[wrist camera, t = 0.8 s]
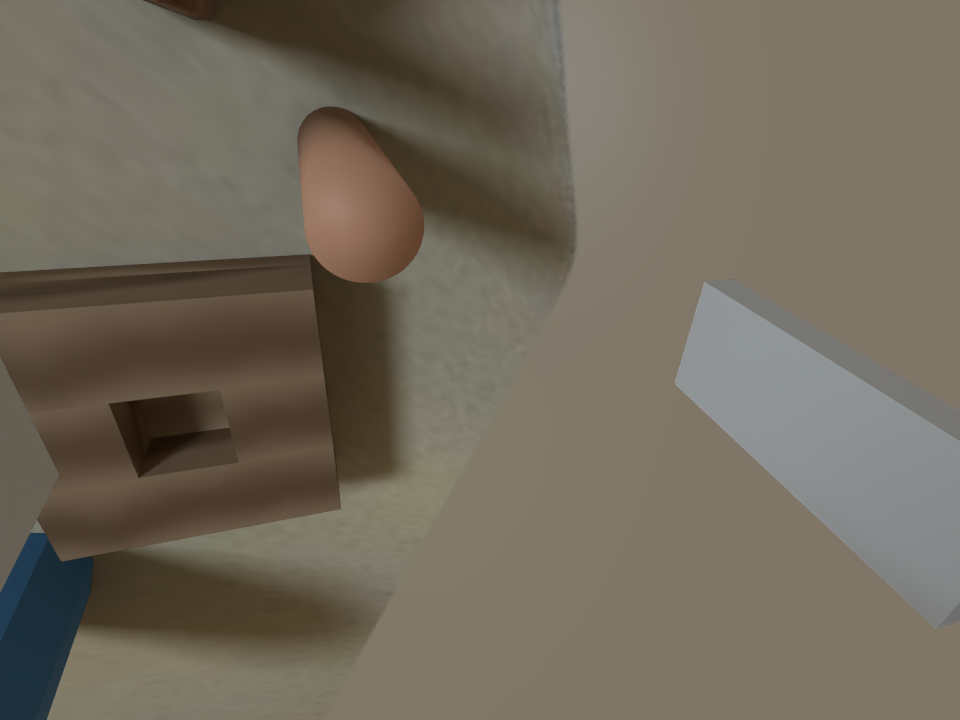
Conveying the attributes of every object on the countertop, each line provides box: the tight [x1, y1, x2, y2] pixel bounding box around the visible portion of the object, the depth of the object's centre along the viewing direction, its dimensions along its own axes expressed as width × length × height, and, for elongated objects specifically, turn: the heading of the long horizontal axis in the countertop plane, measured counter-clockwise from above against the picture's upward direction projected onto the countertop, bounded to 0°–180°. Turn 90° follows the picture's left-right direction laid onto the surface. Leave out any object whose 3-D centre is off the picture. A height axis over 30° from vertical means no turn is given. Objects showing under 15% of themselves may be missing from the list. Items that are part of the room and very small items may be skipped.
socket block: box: [0, 254, 341, 562], centre depth 31 cm, size 16×16×5 cm
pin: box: [297, 107, 424, 283], centre depth 23 cm, size 4×4×14 cm
